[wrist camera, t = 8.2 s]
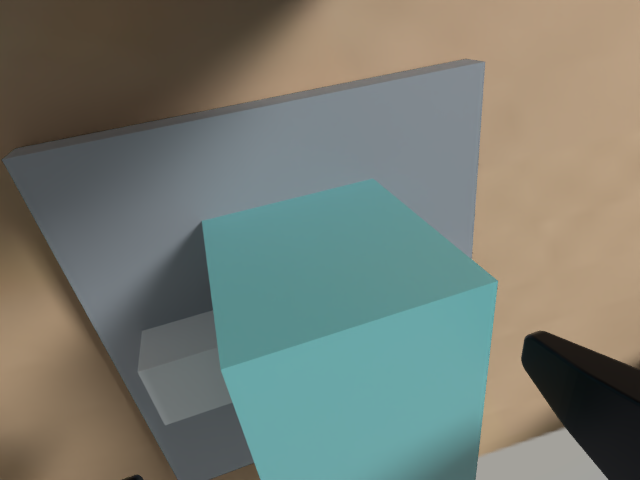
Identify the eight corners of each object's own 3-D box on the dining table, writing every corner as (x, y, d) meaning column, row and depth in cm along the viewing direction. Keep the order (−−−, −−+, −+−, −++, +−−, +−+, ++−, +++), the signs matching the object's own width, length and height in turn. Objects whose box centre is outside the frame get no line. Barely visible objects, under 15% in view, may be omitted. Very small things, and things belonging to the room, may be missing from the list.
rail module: (373, 178, 11) (498, 281, 7) (386, 368, 14) (471, 512, 10) (201, 221, 10) (220, 369, 6) (261, 411, 14) (299, 587, 9)
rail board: (465, 58, 11) (528, 67, 9) (451, 371, 17) (486, 416, 15) (14, 148, 9) (-30, 186, 7) (182, 468, 15) (183, 534, 13)
